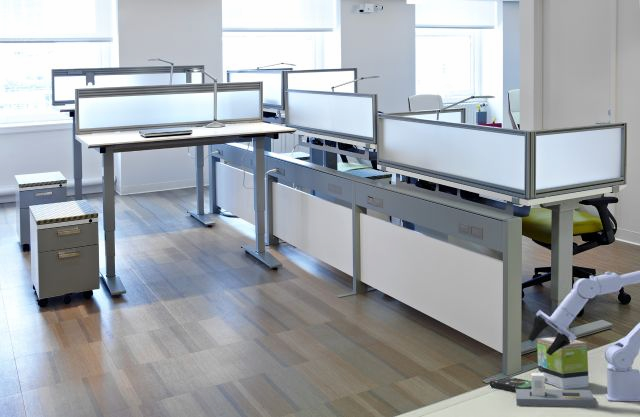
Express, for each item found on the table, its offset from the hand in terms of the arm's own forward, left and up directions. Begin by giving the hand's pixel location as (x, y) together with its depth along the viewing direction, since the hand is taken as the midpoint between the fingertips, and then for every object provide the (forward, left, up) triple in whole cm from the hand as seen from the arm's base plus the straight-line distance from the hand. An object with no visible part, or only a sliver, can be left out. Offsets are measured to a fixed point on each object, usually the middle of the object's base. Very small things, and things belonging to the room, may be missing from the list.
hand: (539, 347), depth 235 cm
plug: (+1, +2, -16) cm, 16 cm away
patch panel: (-4, +2, -16) cm, 16 cm away
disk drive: (+7, -15, -17) cm, 23 cm away
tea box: (-8, -24, -16) cm, 30 cm away
